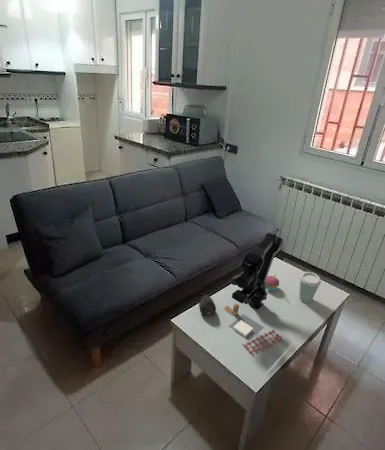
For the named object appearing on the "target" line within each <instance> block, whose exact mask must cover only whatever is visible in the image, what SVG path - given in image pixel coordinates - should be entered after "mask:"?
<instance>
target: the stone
mask: <svg viewBox="0 0 385 450" xmlns="http://www.w3.org/2000/svg"><path fill="white" fill-rule="evenodd" d="M198 302H199V304H198V308H199V312H200V313H201V315H202V316H213V315H215V314H216V311H217V308H216V304H215V302H214V300H213V298H212V297H211V296H210V295H208V294H206V295H203V296H202V297H201V298H200V301H198Z"/></svg>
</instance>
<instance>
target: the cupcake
mask: <svg viewBox="0 0 385 450" xmlns="http://www.w3.org/2000/svg"><path fill="white" fill-rule="evenodd" d="M276 275H277V273H274V275H267V278H266V281H265V282H266V287H267V288H266V290H267V291H270V292H271V291H272V292H273V291H274V290H276V288H278V287H279V286H280V280H279V278H277V277H276Z"/></svg>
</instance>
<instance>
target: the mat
mask: <svg viewBox="0 0 385 450" xmlns="http://www.w3.org/2000/svg"><path fill="white" fill-rule="evenodd" d="M241 320H242V321H243V322H245V323H246V324H248V325H249V326H251V327H252V328H253V331H252V332H251V333H249V334H248V335H247V336H246V337H244V336H243V335H242V334H240V333H239V332H237V331H236V330H234V329H233V327H234V326H235V325H236V324H237V323H238V322H239V321H241ZM228 327H229V328H230V329H231V330H234V331H235V332H236V333H238V334H239V335H240V336H242V337H243V338H245V339H246V340H248V342H251V341H252V340H253V338H255V336H257V334H258V333H259V332H261V331H262V330H263V329H264V328H265V327H264V326H263V325H261V324H260V323H258V322H257V321H255V320H254V319H252V318H250V317H249V316H247V315H246V314H245V313H243V314H241V315H240V316H238V318H237V319H235V321H233V322H232V323H230V324H229V325H228Z"/></svg>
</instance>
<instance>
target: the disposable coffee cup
mask: <svg viewBox="0 0 385 450" xmlns="http://www.w3.org/2000/svg"><path fill="white" fill-rule="evenodd" d="M321 283H322V281H321V277H320V276H319V275H318V274H316V272H311V271H304V272H302V274H300V276H299V290H298V297H299V300H300V301H301V302H302V303H305V304H309V303H311V302H312V301H313V299H314V296H315V295H316V293H317V291H318V288H319V286H321Z"/></svg>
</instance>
